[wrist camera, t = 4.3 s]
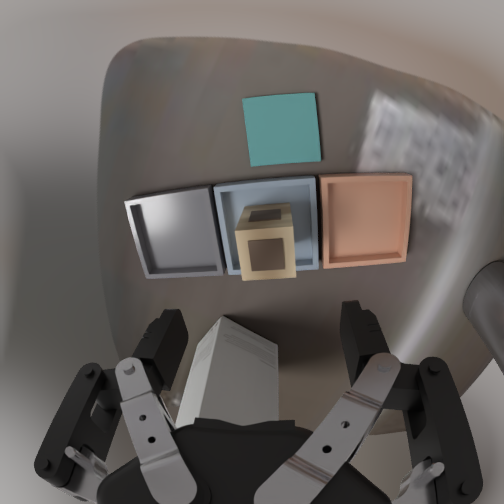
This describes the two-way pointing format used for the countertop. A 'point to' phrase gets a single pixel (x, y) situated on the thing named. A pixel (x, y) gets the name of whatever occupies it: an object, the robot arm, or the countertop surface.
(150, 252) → the dish charcoal
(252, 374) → the skincare box
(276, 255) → the letter block
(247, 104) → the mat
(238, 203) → the dish slate
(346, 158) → the countertop surface
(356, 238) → the dish terracotta
